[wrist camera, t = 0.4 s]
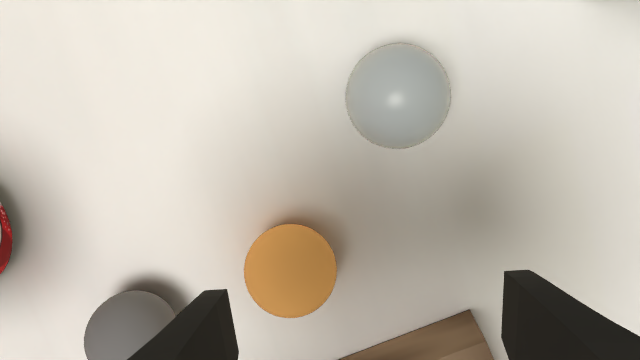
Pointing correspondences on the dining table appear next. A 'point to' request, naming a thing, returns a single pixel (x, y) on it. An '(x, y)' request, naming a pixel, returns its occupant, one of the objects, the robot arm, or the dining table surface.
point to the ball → (290, 270)
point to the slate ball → (398, 96)
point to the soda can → (4, 239)
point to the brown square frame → (434, 343)
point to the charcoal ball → (125, 325)
